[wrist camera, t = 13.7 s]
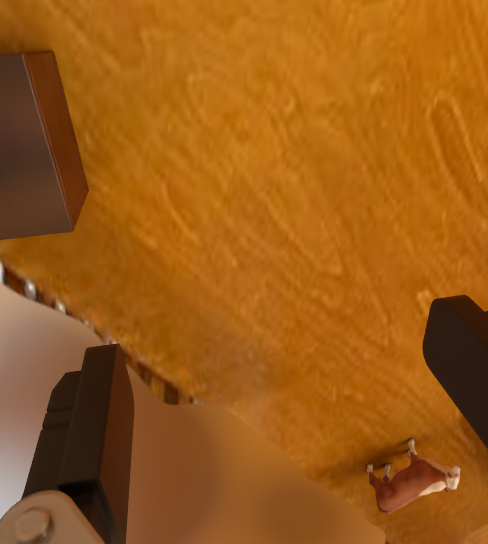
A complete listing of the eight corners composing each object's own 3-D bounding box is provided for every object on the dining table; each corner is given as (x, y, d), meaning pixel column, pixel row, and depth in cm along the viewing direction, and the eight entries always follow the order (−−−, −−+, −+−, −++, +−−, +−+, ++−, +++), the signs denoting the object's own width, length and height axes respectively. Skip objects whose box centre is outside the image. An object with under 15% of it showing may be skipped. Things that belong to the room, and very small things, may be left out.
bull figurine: (441, 439, 70) (472, 487, 63) (367, 478, 73) (389, 528, 66) (432, 425, 68) (463, 473, 61) (356, 466, 70) (377, 517, 63)
